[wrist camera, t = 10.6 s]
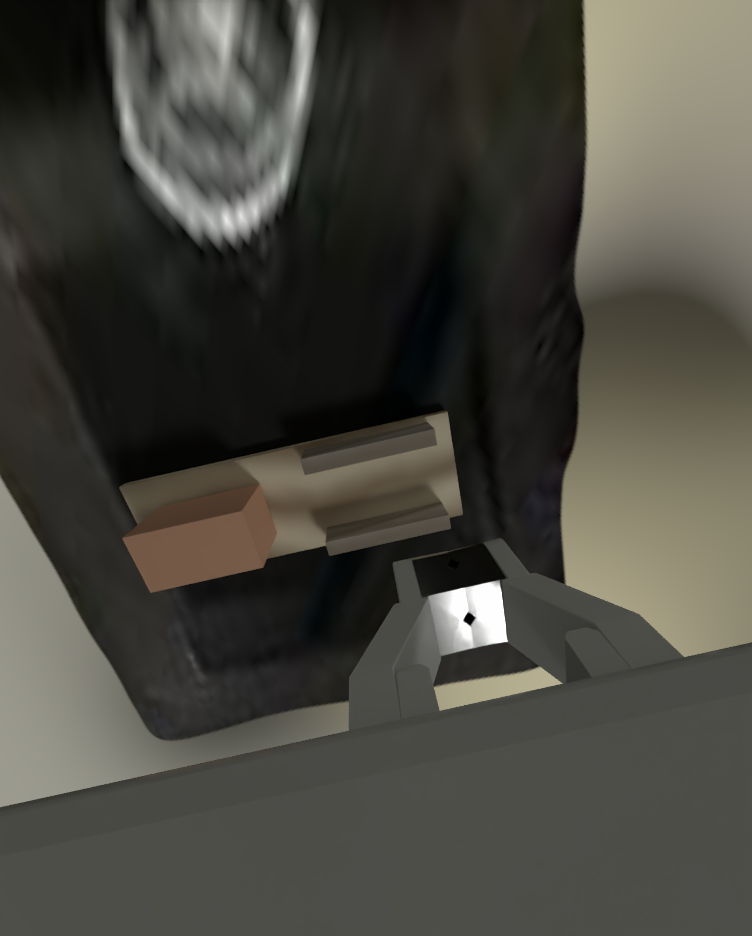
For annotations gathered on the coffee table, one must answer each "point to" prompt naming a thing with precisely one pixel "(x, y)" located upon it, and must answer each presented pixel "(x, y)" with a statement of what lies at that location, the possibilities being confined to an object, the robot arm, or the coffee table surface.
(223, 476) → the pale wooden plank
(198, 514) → the terracotta block
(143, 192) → the coffee table surface
